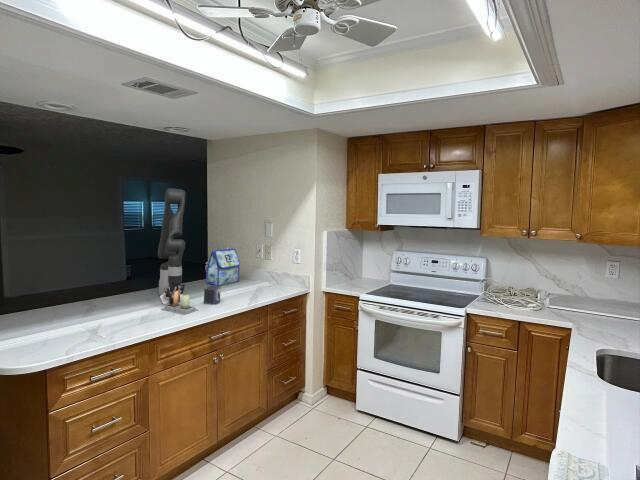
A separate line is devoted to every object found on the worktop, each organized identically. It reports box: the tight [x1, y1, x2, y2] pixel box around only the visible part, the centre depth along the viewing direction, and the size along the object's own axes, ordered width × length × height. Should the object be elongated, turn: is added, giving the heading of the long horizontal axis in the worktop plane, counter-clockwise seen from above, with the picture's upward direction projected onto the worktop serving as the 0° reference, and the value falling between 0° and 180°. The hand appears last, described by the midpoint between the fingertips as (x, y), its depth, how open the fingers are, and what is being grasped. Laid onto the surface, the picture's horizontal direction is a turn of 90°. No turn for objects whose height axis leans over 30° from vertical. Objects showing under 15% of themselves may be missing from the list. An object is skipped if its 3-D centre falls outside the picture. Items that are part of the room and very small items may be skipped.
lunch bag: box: [205, 248, 241, 286], centre depth 305 cm, size 22×17×26 cm
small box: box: [203, 284, 221, 306], centre depth 248 cm, size 11×6×10 cm, turn 168°
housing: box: [160, 303, 199, 316], centre depth 229 cm, size 18×12×3 cm, turn 65°
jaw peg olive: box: [181, 294, 190, 310], centre depth 227 cm, size 4×4×9 cm
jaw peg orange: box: [171, 291, 179, 307], centre depth 230 cm, size 4×4×9 cm
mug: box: [159, 293, 184, 305], centre depth 244 cm, size 12×10×8 cm
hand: (174, 303), depth 231 cm, fingers open, 4 cm apart
